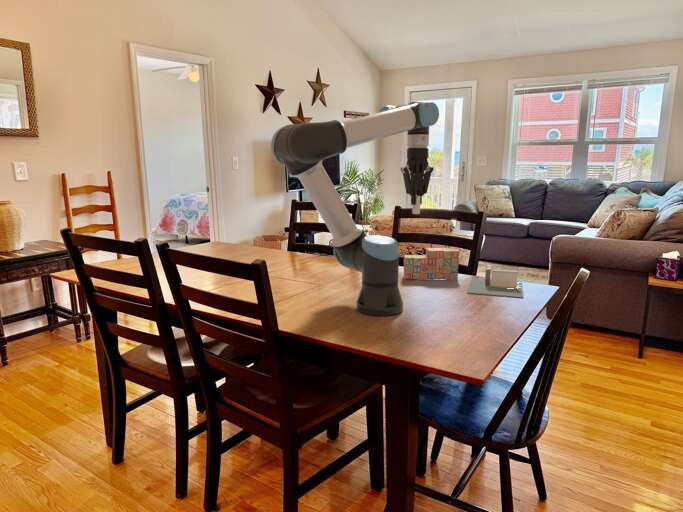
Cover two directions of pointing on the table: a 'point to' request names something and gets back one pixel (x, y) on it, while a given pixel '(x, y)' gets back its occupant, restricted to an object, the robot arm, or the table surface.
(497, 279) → the folding fence panel
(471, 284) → the card
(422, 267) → the stack of blocks
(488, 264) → the fixed fence panel
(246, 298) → the table surface
